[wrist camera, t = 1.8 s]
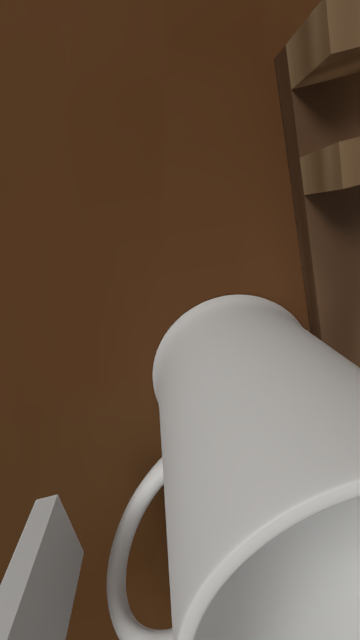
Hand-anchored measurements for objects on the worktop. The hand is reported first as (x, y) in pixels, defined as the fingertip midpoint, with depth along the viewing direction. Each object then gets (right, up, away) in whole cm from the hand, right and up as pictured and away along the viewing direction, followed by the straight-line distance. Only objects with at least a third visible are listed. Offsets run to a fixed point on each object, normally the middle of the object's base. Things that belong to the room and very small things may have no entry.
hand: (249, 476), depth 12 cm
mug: (-1, +2, +7) cm, 7 cm away
